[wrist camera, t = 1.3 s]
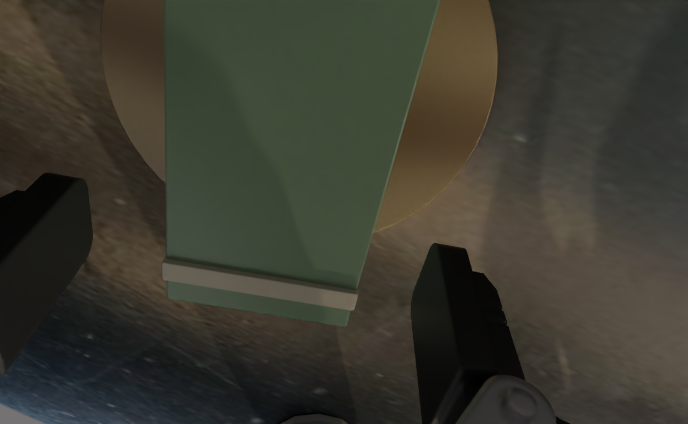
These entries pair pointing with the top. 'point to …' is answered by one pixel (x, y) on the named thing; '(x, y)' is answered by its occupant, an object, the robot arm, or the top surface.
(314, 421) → the disposable coffee cup
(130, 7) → the turntable
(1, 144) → the top surface
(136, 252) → the top surface
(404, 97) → the green box
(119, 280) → the top surface
